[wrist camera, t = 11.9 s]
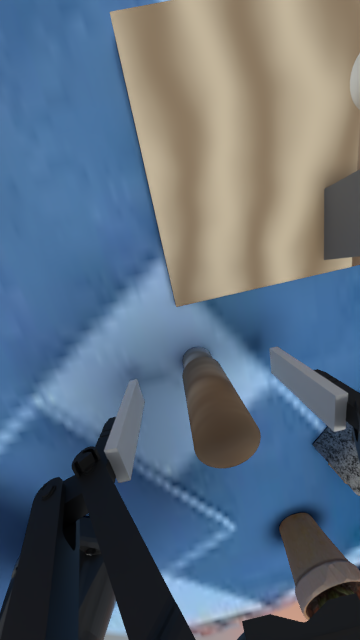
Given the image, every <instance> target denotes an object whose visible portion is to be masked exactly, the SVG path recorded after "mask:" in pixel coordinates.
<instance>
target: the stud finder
mask: <svg viewBox="0 0 360 640" xmlns="http://www.w3.org/2000/svg"><path fill="white" fill-rule="evenodd" d="M359 256H360V170H358V171H356V172H354V173H352V174H351V175H349V176H347V177H345V178H343V179H341V180H340V181H338V182H336V183H334V184H332V185H331V186H329V187H327V188H325V189H324V260H329V259H339V258H349V257H359Z"/></svg>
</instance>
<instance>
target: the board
mask: <svg viewBox="0 0 360 640" xmlns="http://www.w3.org/2000/svg"><path fill="white" fill-rule="evenodd" d="M110 15H111V20H112V25H113V30H114V34H115V39H116V44H117V48H118V52H119V57H120V61H121V66H122V70H123V74H124V79H125V83H126V88H127V92H128V97H129V101H130V105H131V110H132V114H133V119H134V123H135V127H136V132H137V136H138V141H139V145H140V149H141V154H142V158H143V163H144V167H145V172H146V176H147V180H148V185H149V189H150V194H151V198H152V202H153V207H154V211H155V216H156V220H157V224H158V229H159V233H160V238H161V242H162V247H163V251H164V255H165V260H166V264H167V269H168V273H169V277H170V282H171V286H172V291H173V295H174V299H175V304H176V307H178V306H183V305H187V304H192V303H196V302H200V301H205V300H209V299H213V298H218V297H222V296H226V295H231V294H235V293H239V292H244V291H248V290H252V289H257V288H261V287H265V286H270V285H274V284H279V283H283V282H287V281H292V280H296V279H300V278H305V277H309V276H313V275H318V274H322V273H326V272H331V271H335V270H339V269H344V268H348V267H352V266H356V265H360V256H359V257H349V258H339V259H329V260H324V189H325V188H327V187H329V186H331V185H332V184H334V183H336V182H338V181H340V180H341V179H343V178H345V177H347V176H349V175H351V174H352V173H354V172H356V171H358V170H360V0H171V1H166V2H160V3H155V4H150V5H144V6H139V7H134V8H128V9H123V10H118V11H112V12H110Z"/></svg>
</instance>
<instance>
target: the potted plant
mask: <svg viewBox="0 0 360 640" xmlns="http://www.w3.org/2000/svg"><path fill="white" fill-rule="evenodd" d="M279 530H280V534H281V537H282V540H283V543H284V546H285V550H286V554H287V557H288V561H289V565H290V568H291V572H292V575H293V579H294V582H295V586H296V587H295V594H296V597H297V600H298V603H299V605H300V608H301V610H302V613H303V614H304V616H305V618H306V619H308V620H309V619H310V618H311V617H312V616H313V615H314V614H315V613H316V612H317V611H318V610H319V609H320V608H321V607H322V606H323V605H324V604H325V603H326V602H327V601H328V600H330V599H334V598H338V597H342V596H346V595H350V594H354V593H356V594H357V596H358V598H359V600H360V571H359V569H358V568H357V567H356V566H355V565H354V564H352V563H350V562H349V561H348V560H347V559H346V558H345V557H344V555H343V554H342V553H341V552H340V551H339V550H338V548H337V547H336V546H335V545H334V544H333V543H332V542H331V540H330V539H329V538H328V537H327V536H326V534H325V533H324V532H323V531H322V530H321V528H320V527H319V526H318V525H317V523H316V522H315V521H314V519H313V518H312V517H311V516H310V515H309V514H307V513H298V514H293V515H291V516H288V517H287V518H286V519H284V520H283V521H282V522H281V524H280V528H279Z"/></svg>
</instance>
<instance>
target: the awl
mask: <svg viewBox="0 0 360 640" xmlns="http://www.w3.org/2000/svg"><path fill="white" fill-rule="evenodd" d="M183 367H184V371H183V383H184V389H185V395H186V401H187V407H188V414H189V420H190V426H191V432H192V438H193V444H194V450H195V453H196V456H197V457H198V459H199V460H200V461H201V462H203V463H204V464H206V465H208V466H210V467H214V468H229V467H234V466H237V465H239V464H241V463H243V462H245V461H246V460H248V459H249V458H250V457H251V456H252V455H253V454H254V453H255V452H256V450H257V448H258V446H259V443H260V431H259V428H258V426H257V425H256V423H255V422H254V420H253V418H252V417H251V415H250V413H249V412H248V410H247V408H246V407H245V405H244V404H243V402H242V400H241V399H240V397H239V395H238V394H237V392H236V390H235V389H234V387H233V385H232V384H231V382H230V381H229V379H228V377H227V376H226V374H225V372H224V371H223V369H222V367H221V366H220V364H219V363H218V362H217V361H216V360H214V359H213V358H212V356H211V354H210V353H209V351H208V350H206V349H205V348H202V347H194V348H191V349H189V350H188V351H187V352H186V353H185V355H184V357H183Z"/></svg>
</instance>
